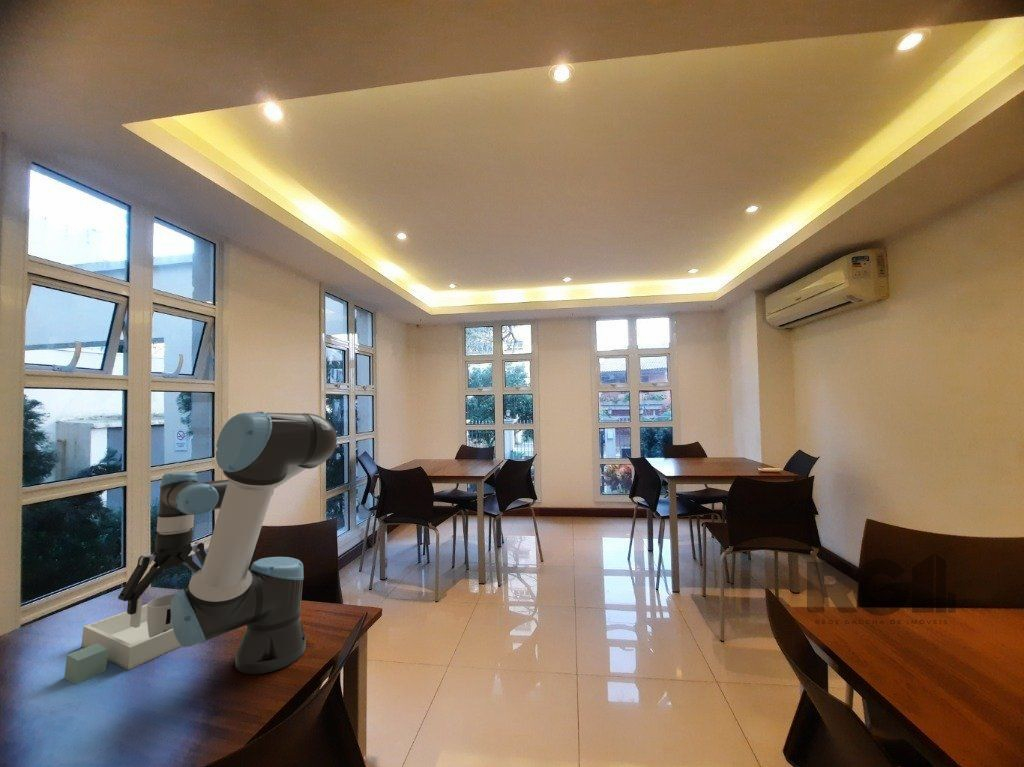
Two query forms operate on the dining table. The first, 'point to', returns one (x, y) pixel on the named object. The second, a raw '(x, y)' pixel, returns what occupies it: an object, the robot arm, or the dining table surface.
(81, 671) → the cube
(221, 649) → the dining table surface
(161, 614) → the cup
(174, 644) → the tote
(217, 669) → the dining table surface
